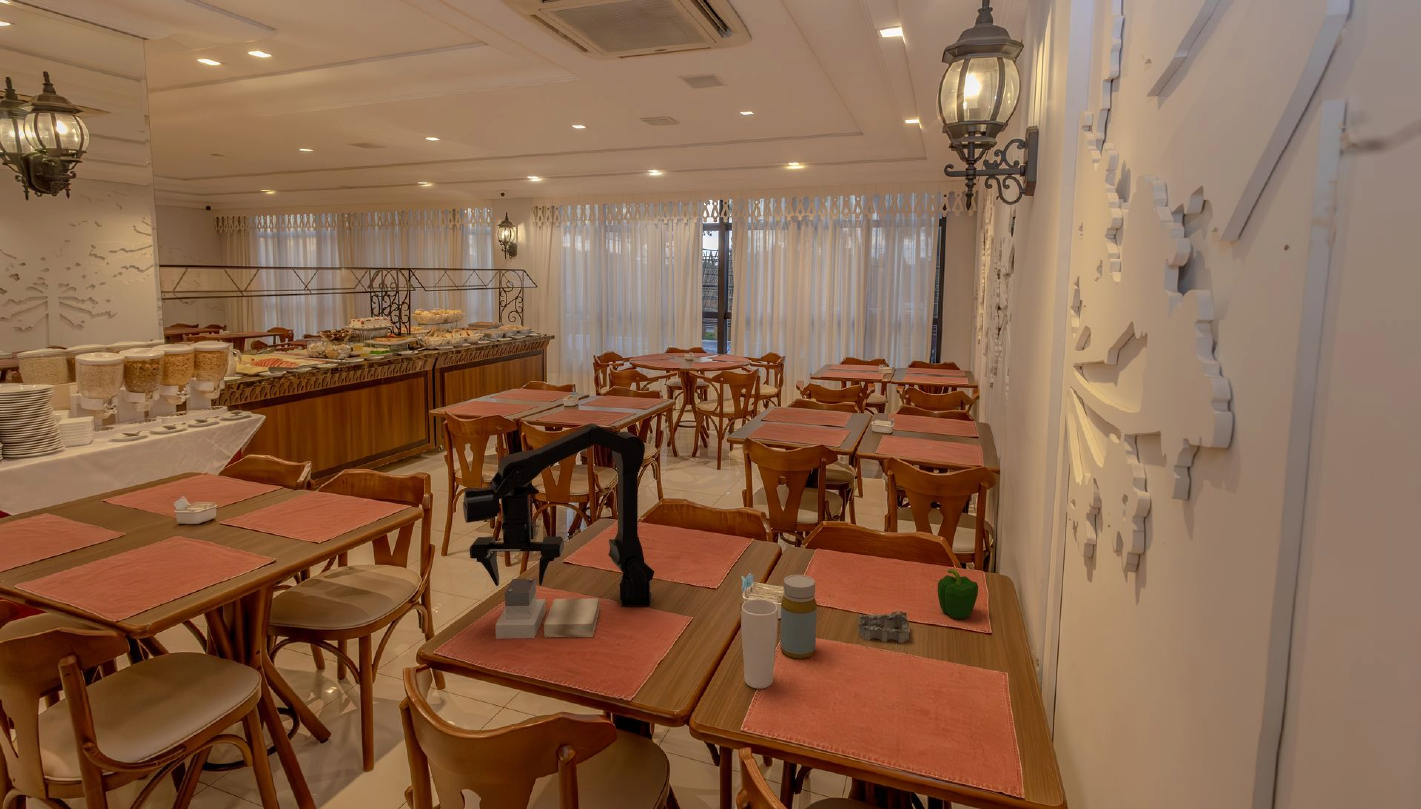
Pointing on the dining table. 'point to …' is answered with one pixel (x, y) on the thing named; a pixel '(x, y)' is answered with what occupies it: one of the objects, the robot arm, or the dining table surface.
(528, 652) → the dining table surface
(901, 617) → the egg carton
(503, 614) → the stand
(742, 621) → the drinking glass
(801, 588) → the bottle
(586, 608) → the stand
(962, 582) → the bell pepper
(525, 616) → the housing
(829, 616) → the dining table surface
